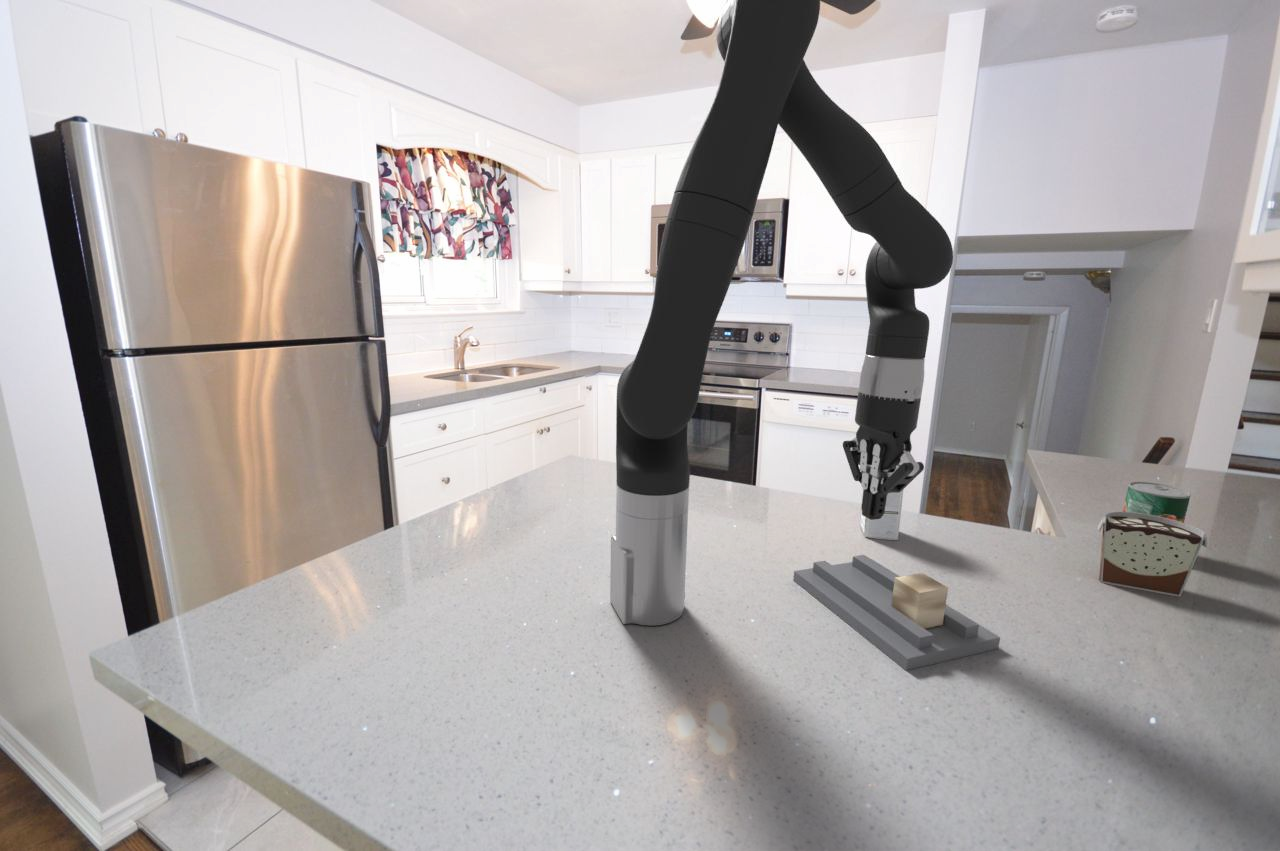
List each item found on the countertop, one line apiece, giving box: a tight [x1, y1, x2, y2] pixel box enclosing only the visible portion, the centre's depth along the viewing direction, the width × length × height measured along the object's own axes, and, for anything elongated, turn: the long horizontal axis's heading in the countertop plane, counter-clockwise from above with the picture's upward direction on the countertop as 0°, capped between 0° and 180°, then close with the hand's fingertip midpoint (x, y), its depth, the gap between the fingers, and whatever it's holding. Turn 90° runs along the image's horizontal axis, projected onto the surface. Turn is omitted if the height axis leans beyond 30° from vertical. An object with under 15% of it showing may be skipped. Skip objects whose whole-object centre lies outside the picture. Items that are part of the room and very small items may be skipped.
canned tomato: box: [1122, 481, 1192, 523], centre depth 97 cm, size 8×8×11 cm
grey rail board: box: [793, 554, 1001, 671], centre depth 76 cm, size 22×14×3 cm, turn 19°
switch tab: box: [891, 572, 949, 629], centre depth 71 cm, size 4×4×5 cm
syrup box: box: [859, 465, 904, 541], centre depth 101 cm, size 6×6×14 cm
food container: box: [1097, 511, 1208, 598], centre depth 86 cm, size 12×6×10 cm, turn 65°
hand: (871, 517), depth 78 cm, fingers closed
